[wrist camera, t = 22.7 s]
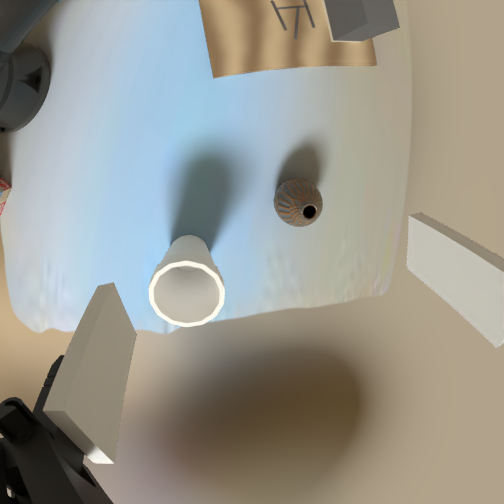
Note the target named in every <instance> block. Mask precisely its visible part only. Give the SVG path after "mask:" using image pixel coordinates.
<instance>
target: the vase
mask: <svg viewBox="0 0 504 504" xmlns="http://www.w3.org/2000/svg"><path fill="white" fill-rule="evenodd" d="M322 206H323V202H322V197H321V194H320V192H319V190H318V189H317V188H316V186H315V185H313V184H312V183H311V182H309V181H307V180H304V179H299V178H295V179H290V180H287V181H285V182H284V183H282V184H281V185H280V186H279V187H278V189H277V191H276V193H275V196H274V207H275V210H276V212H277V214H278V215H279V217H280V218H281V219H282V220H283V221H284V222H286V223H287V224H289V225H292V226H297V227H303V226H307V225H310V224H312V223H313V222H314V221H316V220H317V218H318V217H319V216H320V214H321V211H322Z"/></svg>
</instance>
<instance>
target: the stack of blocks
mask: <svg viewBox="0 0 504 504" xmlns="http://www.w3.org/2000/svg"><path fill="white" fill-rule="evenodd" d="M11 189H12V187H11V186H10V185H9V184H8V183H7V182H6V181H5V180H3V179H2V178H1V177H0V215H1V213H2V210H3V207H4V205H5V202H6V200H7V198H8V196H9V193H10V191H11Z"/></svg>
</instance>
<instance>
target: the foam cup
mask: <svg viewBox="0 0 504 504" xmlns="http://www.w3.org/2000/svg"><path fill="white" fill-rule="evenodd" d="M224 293H225V288H224V282H223V278H222V276H221V274H220V272H219V270H218V268H217V266H216V265H215V264H214V262H213V259H212V257H211V255H210V252H209V250H208V248H207V246H206V244H205V242H204V241H203V240H201V239H200V238H199V237H197V236H193V235H184V236H180V237H179V238H177V239H176V240H175V241H173V243H172V244H171V246H170V248H169V249H168V251H167V253H166V254H165V256H164V258H163V260H162V261H161V263H160V264H158V265H157V267H156V269H155V271H154V273H153V275H152V278H151V281H150V285H149V298H150V303H151V305H152V306H153V308H154V310H155V311H156V313H157V314H158V315H159V316H160V317H162V318H163V319H165V320H166V321H168V322H169V323H171V324H175V325H179V326H184V327H190V326H196V325H202V324H204V323H206V322H207V321H209V320H211V319H212V318H214V317H215V316H216V315H217V314H218V312H219V311H220V309H221V307H222V306H223V304H224Z"/></svg>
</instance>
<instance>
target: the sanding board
mask: <svg viewBox="0 0 504 504" xmlns="http://www.w3.org/2000/svg"><path fill="white" fill-rule="evenodd" d="M199 5H200V10H201V16H202V21H203V26H204V31H205V37H206V42H207V47H208V53H209V58H210V63H211V68H212V73H213V79H214V78H219V77H225V76H231V75H237V74H244V73H251V72H258V71H267V70H276V69H286V68H299V67H315V66H375V65H377V63H376V57H375V52H374V47H373V42H372V38H370V39H367V40H364V41H362V42H331V38H330V33H329V29H328V24H327V20H326V16H325V12H324V8H323V4H322V0H199Z"/></svg>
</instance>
